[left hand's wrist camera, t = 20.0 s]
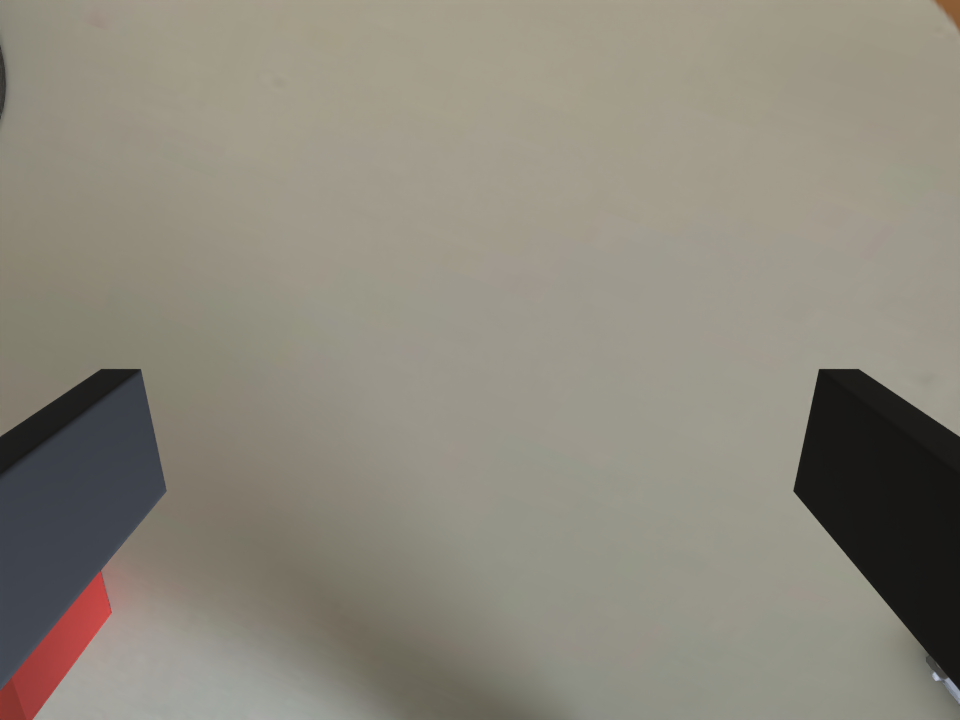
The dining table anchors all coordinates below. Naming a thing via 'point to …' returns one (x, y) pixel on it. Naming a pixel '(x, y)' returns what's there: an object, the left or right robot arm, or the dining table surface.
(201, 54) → the dining table surface
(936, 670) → the pistol
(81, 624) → the block
